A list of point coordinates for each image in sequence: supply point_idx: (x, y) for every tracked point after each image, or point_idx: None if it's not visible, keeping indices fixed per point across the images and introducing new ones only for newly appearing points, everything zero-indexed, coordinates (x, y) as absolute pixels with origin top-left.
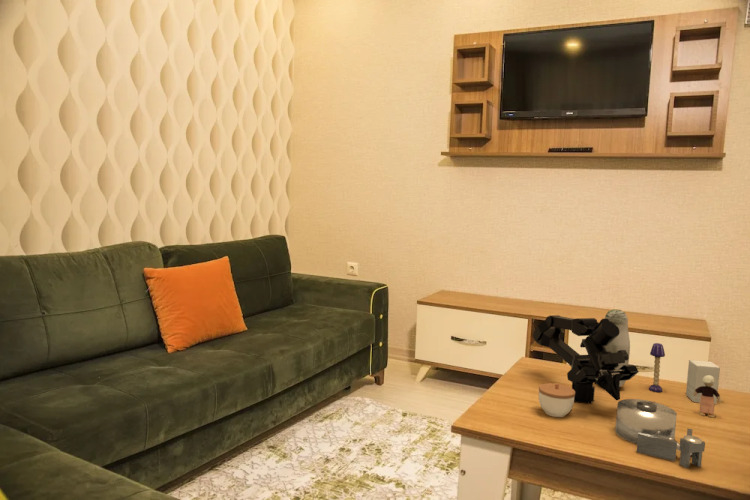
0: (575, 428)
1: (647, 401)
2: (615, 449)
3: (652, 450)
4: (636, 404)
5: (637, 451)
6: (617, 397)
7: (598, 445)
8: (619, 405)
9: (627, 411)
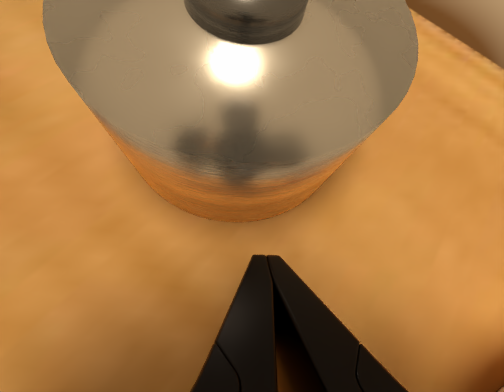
0: (481, 236)
1: (104, 81)
2: None
3: None
4: (259, 61)
5: None
6: (281, 261)
7: (445, 105)
8: (400, 80)
9: (399, 7)
